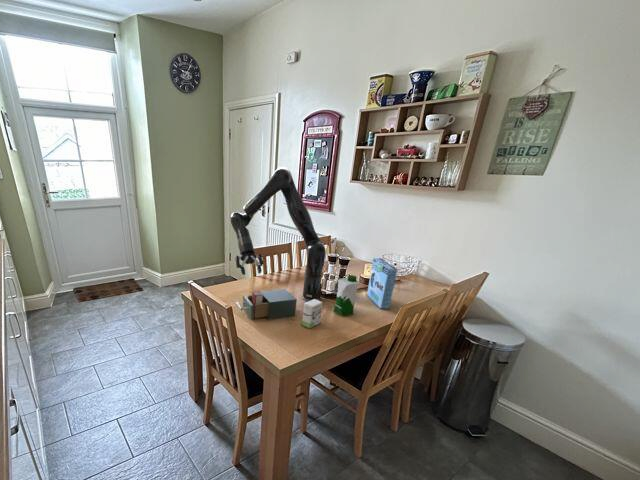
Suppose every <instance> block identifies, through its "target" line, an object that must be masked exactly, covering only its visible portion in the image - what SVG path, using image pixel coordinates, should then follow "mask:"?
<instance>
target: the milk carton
mask: <svg viewBox="0 0 640 480" xmlns="http://www.w3.org/2000/svg"><path fill="white" fill-rule="evenodd" d="M359 286H360V282H359V281H358V280H357V276H356V275H353V274H351V275H348V277H345V278H344V277H343V278H339V279H337V291H338V292H337V291H336V292H337V293H336V299H335V304H334V308H333V312H335V313H336V314H338V315H339V316H340V317H346V316H351V315H354V308H355V302H356V296H357V291H358V290H357V288H359Z"/></svg>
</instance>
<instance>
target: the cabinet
mask: <svg viewBox="0 0 640 480" xmlns="http://www.w3.org/2000/svg"><path fill="white" fill-rule="evenodd" d="M259 291H260V292H261V293H262V294H263V297H264V298H265V299H266V300H267V301H268V302H269V314H268V316H266V317H265V318H267V319H268V320H275V319H276V320H277V319H284V318H291V317H295V316H296V311H297V300H298V299H297V298H296V297H295V296H294V295H293V294H292V293H290V292H289V291H288V289H286V288H279V289H270V290H269V289H268V290H259Z"/></svg>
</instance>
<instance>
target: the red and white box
mask: <svg viewBox="0 0 640 480" xmlns="http://www.w3.org/2000/svg"><path fill="white" fill-rule="evenodd" d="M260 291H261V290H255V291H252V292H251V295H252V304H253V312H254V313H255V304H261V303H263V294H262V293H261V292H260Z"/></svg>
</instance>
